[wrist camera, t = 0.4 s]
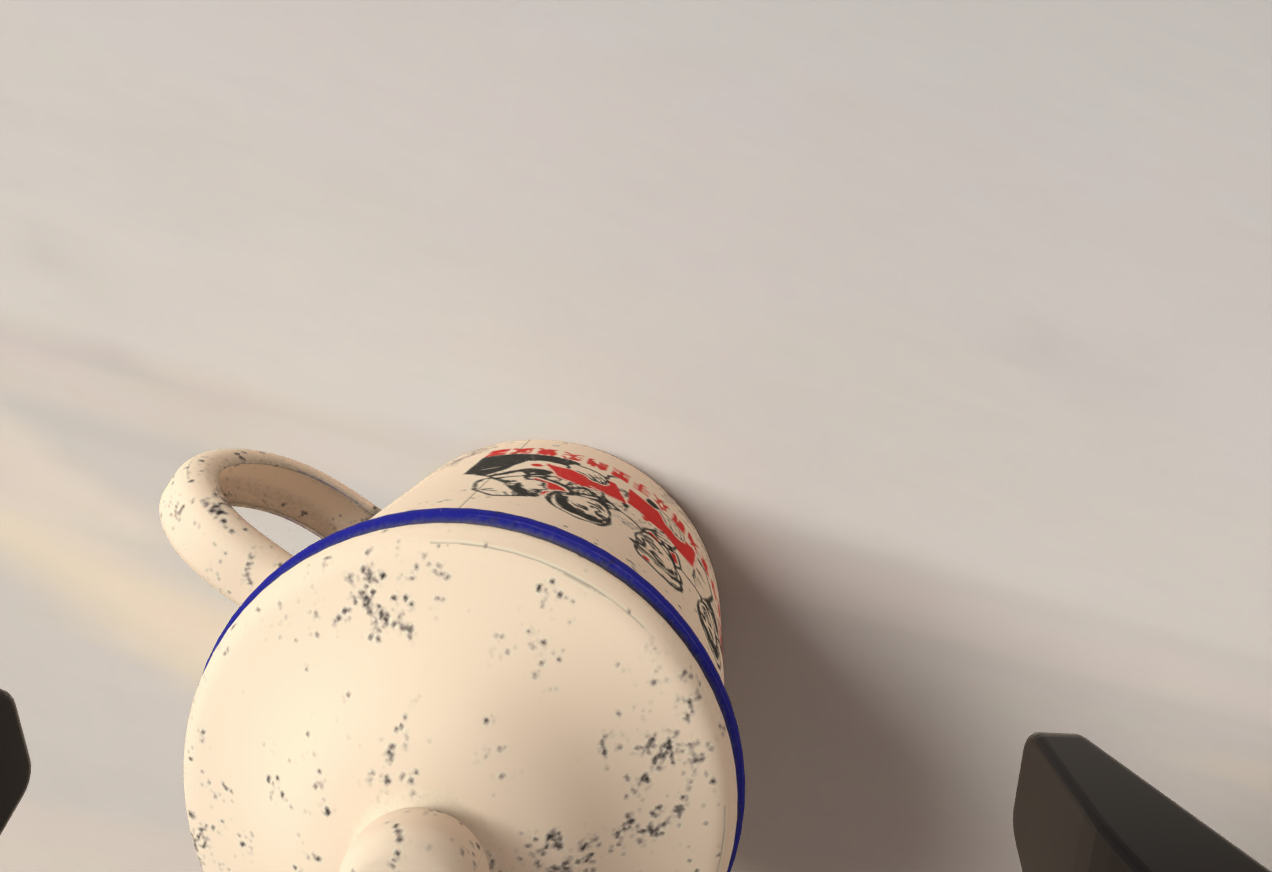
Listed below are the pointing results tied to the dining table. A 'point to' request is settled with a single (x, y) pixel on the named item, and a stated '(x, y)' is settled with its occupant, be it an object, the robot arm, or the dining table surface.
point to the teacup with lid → (458, 671)
